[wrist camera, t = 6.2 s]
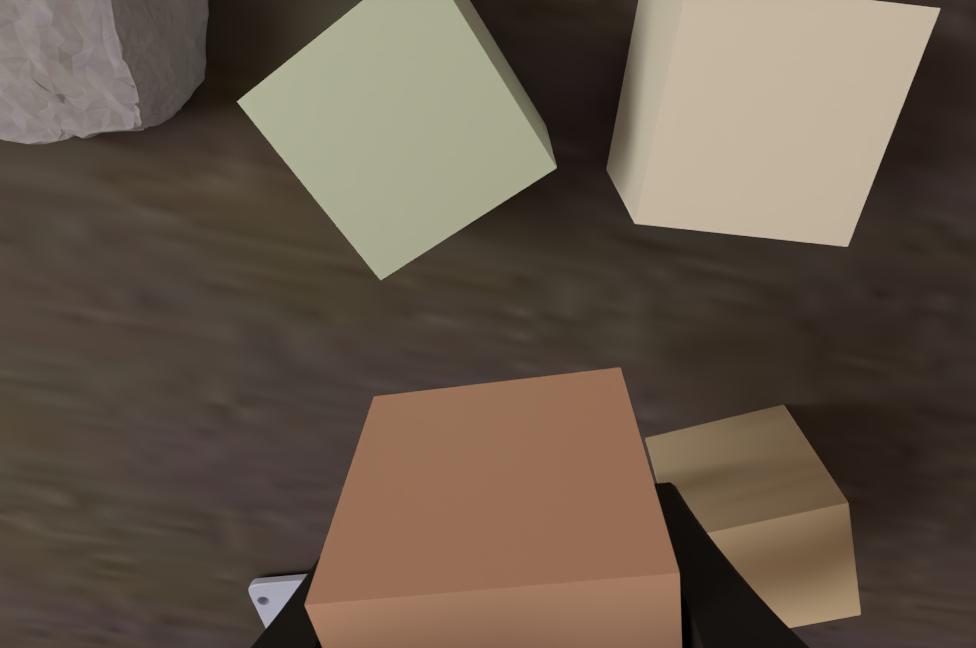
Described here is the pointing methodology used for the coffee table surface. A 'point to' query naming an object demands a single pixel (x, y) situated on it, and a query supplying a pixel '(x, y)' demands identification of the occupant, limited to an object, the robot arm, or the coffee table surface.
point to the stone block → (96, 65)
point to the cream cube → (762, 112)
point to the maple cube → (767, 510)
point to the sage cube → (403, 125)
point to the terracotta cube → (500, 524)
